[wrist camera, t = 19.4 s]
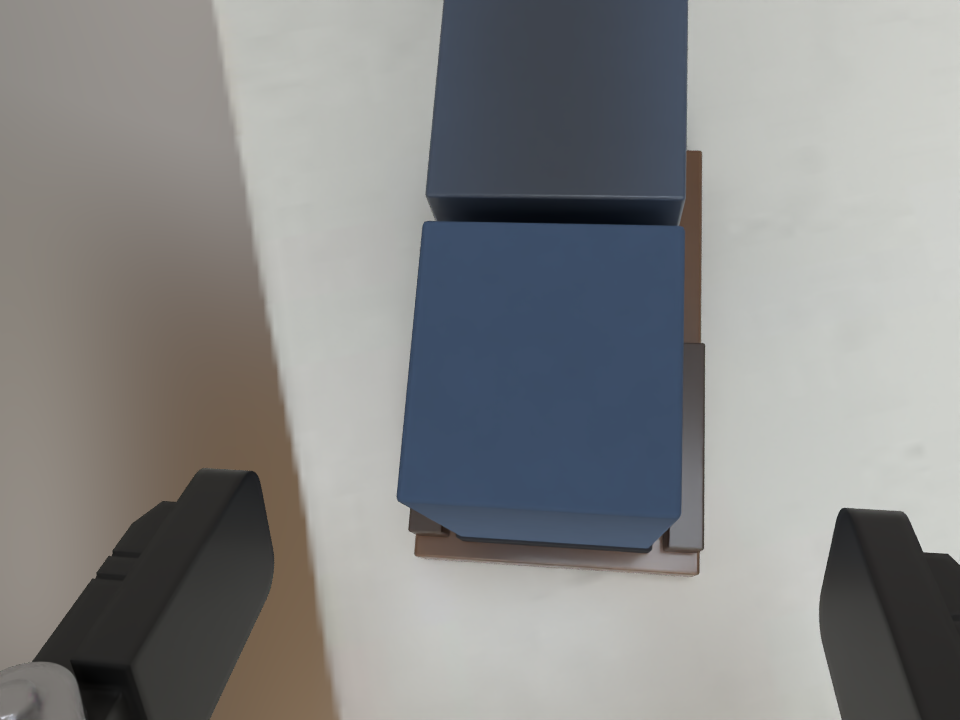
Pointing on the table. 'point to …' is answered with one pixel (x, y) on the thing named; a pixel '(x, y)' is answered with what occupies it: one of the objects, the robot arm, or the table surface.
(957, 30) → the table surface
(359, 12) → the table surface
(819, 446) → the table surface
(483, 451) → the blue rectangular block
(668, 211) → the stand
